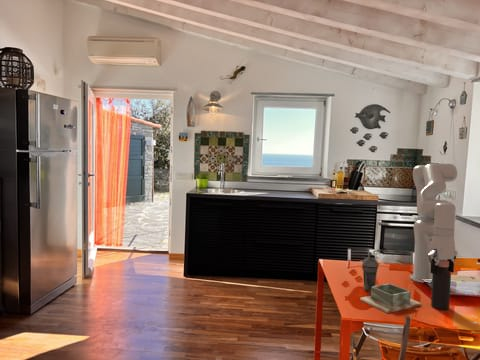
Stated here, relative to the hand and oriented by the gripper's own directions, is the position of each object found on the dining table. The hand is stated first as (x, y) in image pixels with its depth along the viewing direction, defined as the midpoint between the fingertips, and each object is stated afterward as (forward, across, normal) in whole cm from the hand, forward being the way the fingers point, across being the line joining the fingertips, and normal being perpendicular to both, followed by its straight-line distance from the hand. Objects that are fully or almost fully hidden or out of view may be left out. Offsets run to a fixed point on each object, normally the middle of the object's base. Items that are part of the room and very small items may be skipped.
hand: (442, 272), depth 154 cm
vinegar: (+15, -1, -1) cm, 15 cm away
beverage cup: (+15, +11, -29) cm, 34 cm away
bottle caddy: (+15, +15, -13) cm, 25 cm away
